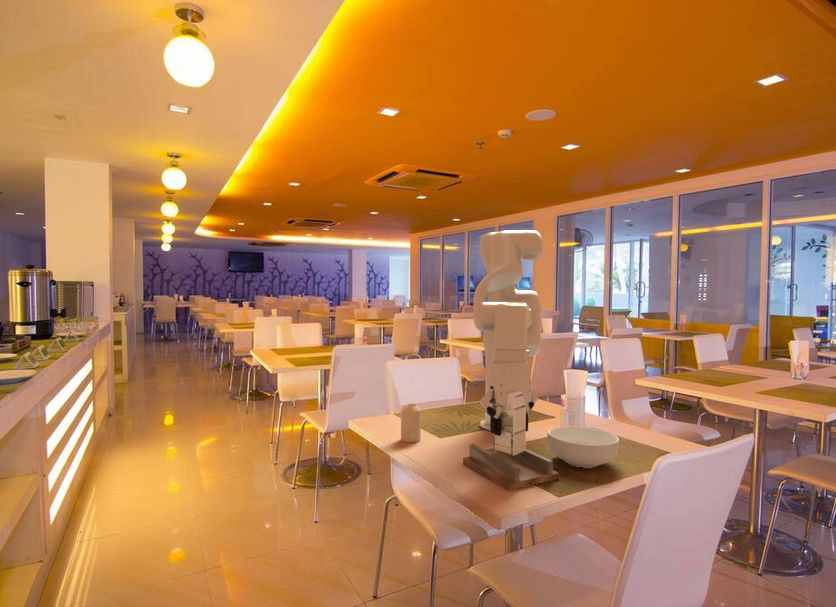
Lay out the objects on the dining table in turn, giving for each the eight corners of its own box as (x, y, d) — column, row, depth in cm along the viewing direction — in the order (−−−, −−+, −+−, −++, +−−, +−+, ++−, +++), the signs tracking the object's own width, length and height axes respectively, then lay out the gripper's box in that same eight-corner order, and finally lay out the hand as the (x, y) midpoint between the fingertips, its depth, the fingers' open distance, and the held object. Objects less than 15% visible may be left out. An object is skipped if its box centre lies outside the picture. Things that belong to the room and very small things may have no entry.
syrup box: (526, 450, 117) (527, 389, 116) (512, 456, 113) (513, 392, 112) (505, 445, 121) (506, 385, 120) (491, 451, 116) (492, 389, 116)
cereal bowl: (634, 471, 117) (634, 441, 117) (572, 478, 113) (573, 447, 112) (589, 449, 134) (590, 423, 134) (534, 454, 129) (534, 427, 129)
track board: (509, 455, 128) (509, 438, 128) (558, 479, 112) (559, 459, 112) (463, 463, 122) (463, 445, 122) (508, 490, 106) (508, 469, 106)
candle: (418, 443, 138) (418, 407, 137) (398, 442, 139) (399, 406, 138) (422, 437, 143) (422, 403, 143) (403, 436, 144) (403, 402, 144)
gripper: (529, 352, 123) (528, 424, 124) (469, 356, 116) (469, 432, 116) (550, 356, 117) (549, 431, 117) (488, 360, 109) (487, 441, 109)
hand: (509, 431), depth 117 cm, fingers closed on syrup box, 7 cm apart
